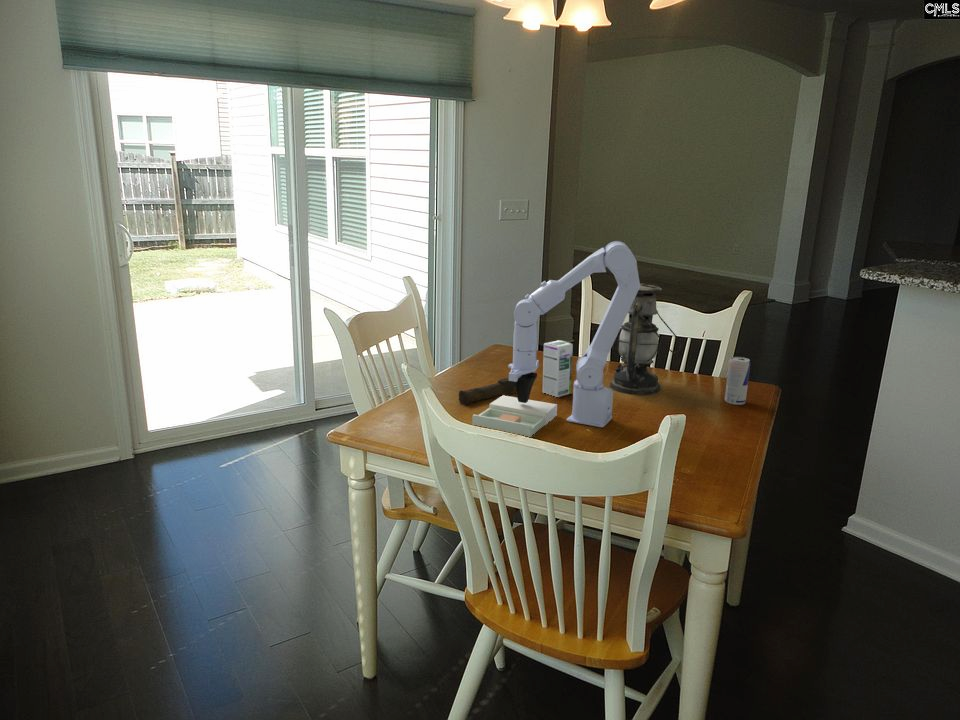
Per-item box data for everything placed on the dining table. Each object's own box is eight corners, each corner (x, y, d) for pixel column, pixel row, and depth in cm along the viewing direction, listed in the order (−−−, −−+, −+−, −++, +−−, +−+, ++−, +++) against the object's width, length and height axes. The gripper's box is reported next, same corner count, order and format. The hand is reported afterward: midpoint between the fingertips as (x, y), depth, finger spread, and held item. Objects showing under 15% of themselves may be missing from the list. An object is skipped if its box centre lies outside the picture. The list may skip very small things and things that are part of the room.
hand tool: (466, 407, 183) (466, 390, 182) (457, 403, 186) (457, 386, 185) (522, 395, 193) (523, 379, 192) (513, 391, 197) (514, 375, 195)
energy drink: (748, 402, 190) (754, 359, 187) (740, 406, 186) (745, 363, 183) (729, 397, 193) (734, 355, 190) (721, 402, 190) (726, 359, 186)
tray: (544, 425, 170) (545, 414, 169) (530, 438, 162) (530, 425, 161) (488, 415, 176) (489, 404, 175) (472, 426, 168) (472, 415, 168)
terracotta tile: (513, 422, 165) (512, 430, 165) (520, 416, 169) (520, 424, 169) (495, 419, 167) (495, 427, 167) (503, 413, 170) (503, 421, 171)
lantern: (619, 375, 213) (626, 276, 205) (683, 384, 205) (693, 282, 197) (601, 392, 196) (608, 285, 188) (670, 402, 188) (680, 292, 180)
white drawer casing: (556, 415, 177) (557, 404, 176) (545, 425, 170) (545, 413, 169) (502, 406, 183) (502, 395, 182) (489, 415, 176) (489, 403, 176)
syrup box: (557, 398, 190) (559, 346, 187) (541, 392, 195) (543, 342, 191) (571, 394, 194) (573, 343, 190) (555, 389, 198) (557, 339, 194)
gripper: (521, 340, 180) (519, 391, 183) (497, 353, 167) (496, 407, 171) (547, 344, 177) (544, 395, 180) (525, 357, 164) (523, 412, 168)
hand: (523, 401), depth 175 cm, fingers closed
